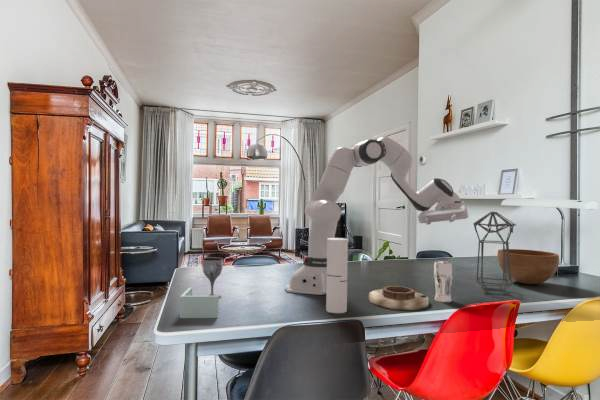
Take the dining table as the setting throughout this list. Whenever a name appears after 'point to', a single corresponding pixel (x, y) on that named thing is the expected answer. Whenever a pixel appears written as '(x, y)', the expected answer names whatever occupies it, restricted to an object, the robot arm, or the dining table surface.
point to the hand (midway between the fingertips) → (439, 221)
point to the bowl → (530, 265)
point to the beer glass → (443, 280)
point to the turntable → (398, 298)
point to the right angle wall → (198, 305)
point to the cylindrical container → (336, 275)
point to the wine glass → (212, 270)
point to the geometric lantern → (503, 251)
